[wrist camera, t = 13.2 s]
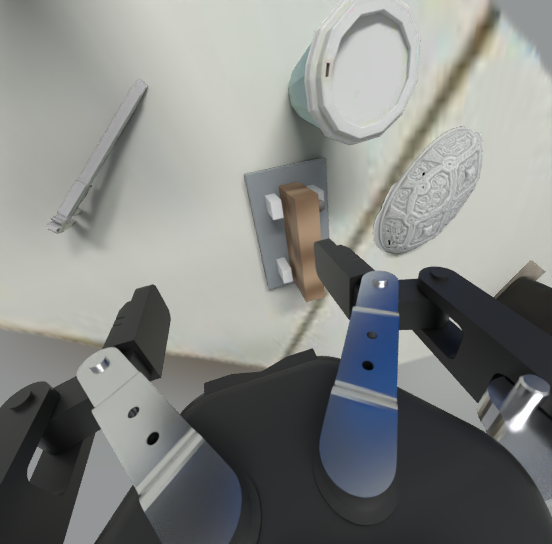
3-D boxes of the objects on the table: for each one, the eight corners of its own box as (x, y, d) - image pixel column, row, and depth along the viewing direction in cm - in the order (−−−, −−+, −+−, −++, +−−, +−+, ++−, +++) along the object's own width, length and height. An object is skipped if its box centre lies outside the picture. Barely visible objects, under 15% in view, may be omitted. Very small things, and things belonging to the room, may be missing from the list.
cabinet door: (278, 185, 36) (294, 199, 29) (306, 179, 37) (329, 191, 30) (291, 275, 45) (306, 301, 38) (314, 269, 45) (332, 294, 38)
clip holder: (243, 174, 36) (249, 181, 31) (321, 157, 37) (337, 161, 32) (267, 285, 46) (274, 302, 42) (327, 268, 48) (340, 284, 43)
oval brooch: (356, 240, 46) (380, 256, 40) (445, 99, 38) (491, 94, 33) (402, 263, 53) (429, 279, 48) (484, 150, 46) (527, 153, 40)
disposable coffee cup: (355, 43, 31) (455, -13, 18) (341, 140, 36) (411, 147, 24) (272, 34, 29) (323, -38, 16) (271, 139, 34) (308, 146, 22)
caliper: (75, 223, 34) (51, 241, 29) (66, 219, 33) (40, 236, 28) (148, 86, 29) (135, 77, 23) (139, 78, 28) (123, 67, 23)
